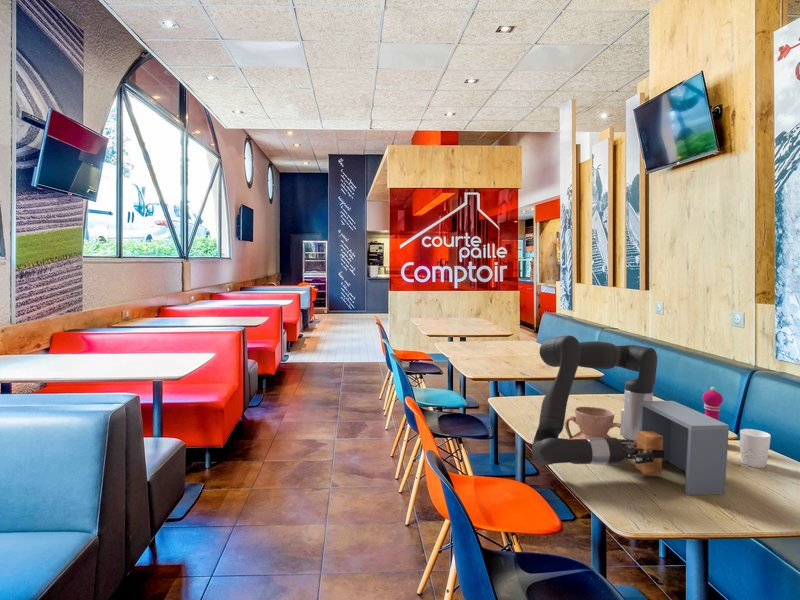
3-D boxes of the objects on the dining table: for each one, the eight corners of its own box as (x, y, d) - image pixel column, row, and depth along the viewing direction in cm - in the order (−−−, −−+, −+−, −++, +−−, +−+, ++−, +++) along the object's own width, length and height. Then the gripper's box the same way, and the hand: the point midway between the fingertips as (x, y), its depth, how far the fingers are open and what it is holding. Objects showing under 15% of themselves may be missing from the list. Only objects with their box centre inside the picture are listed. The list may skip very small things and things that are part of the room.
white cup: (765, 461, 163) (767, 431, 163) (771, 470, 156) (773, 438, 155) (736, 457, 167) (738, 427, 166) (740, 466, 159) (742, 434, 159)
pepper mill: (725, 447, 176) (729, 389, 174) (702, 445, 177) (706, 388, 176) (717, 440, 183) (720, 385, 181) (695, 438, 184) (698, 383, 183)
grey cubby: (687, 495, 139) (691, 425, 137) (638, 460, 163) (640, 401, 162) (724, 493, 140) (729, 425, 138) (669, 459, 164) (673, 400, 163)
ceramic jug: (625, 452, 170) (626, 409, 169) (615, 465, 158) (616, 420, 157) (571, 441, 180) (571, 401, 180) (557, 453, 169) (558, 410, 168)
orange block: (644, 474, 148) (646, 436, 147) (635, 467, 152) (637, 431, 152) (661, 473, 148) (663, 436, 147) (651, 466, 153) (653, 431, 152)
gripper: (615, 447, 141) (673, 446, 143) (591, 430, 155) (644, 429, 157) (613, 473, 142) (672, 472, 143) (590, 454, 156) (643, 453, 157)
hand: (657, 450), depth 150 cm, fingers closed on orange block, 5 cm apart
